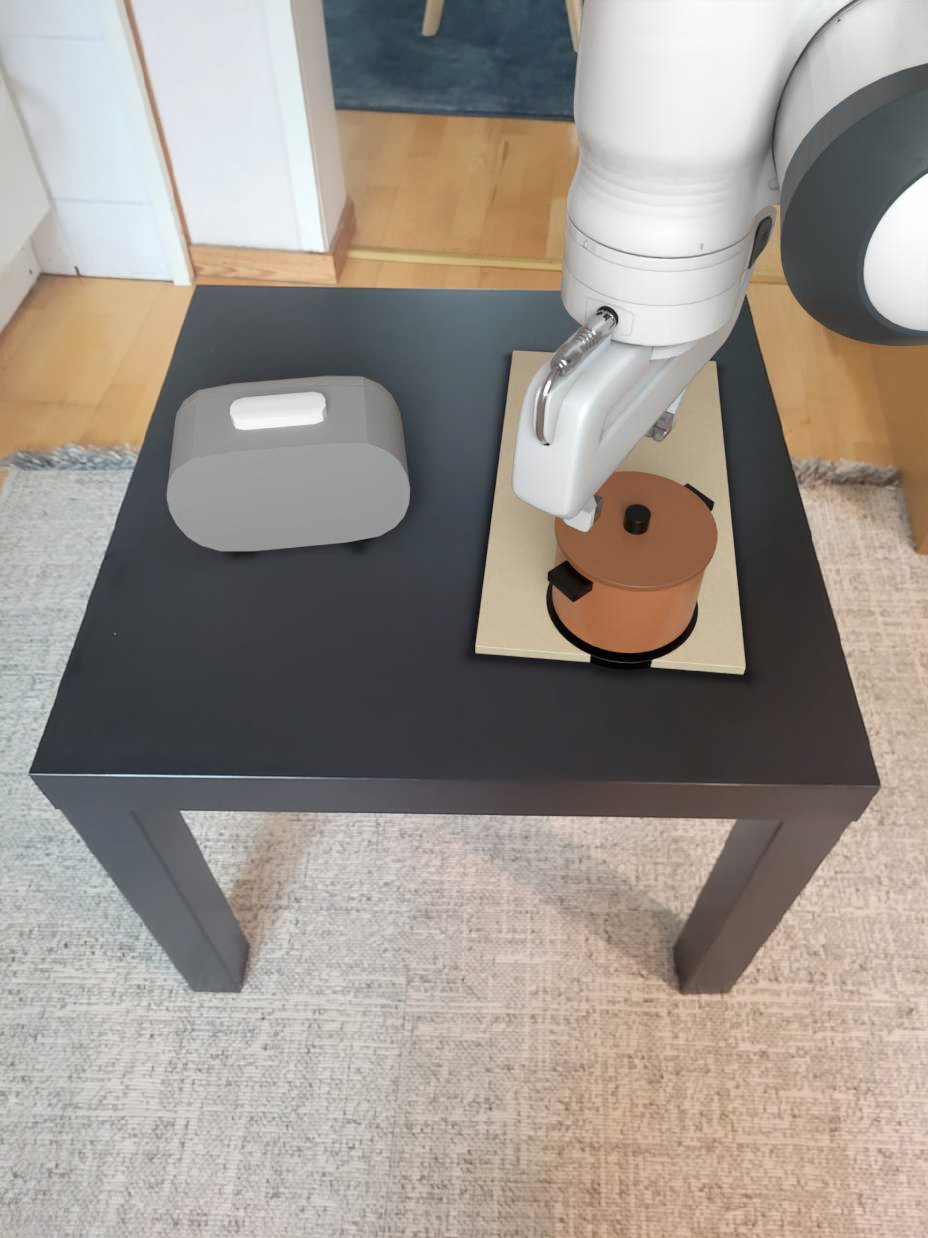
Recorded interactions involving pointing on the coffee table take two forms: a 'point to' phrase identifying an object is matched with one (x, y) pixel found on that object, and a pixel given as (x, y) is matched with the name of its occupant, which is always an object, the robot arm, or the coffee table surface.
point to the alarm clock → (288, 464)
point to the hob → (529, 541)
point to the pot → (634, 563)
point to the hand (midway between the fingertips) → (620, 475)
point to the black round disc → (616, 658)
